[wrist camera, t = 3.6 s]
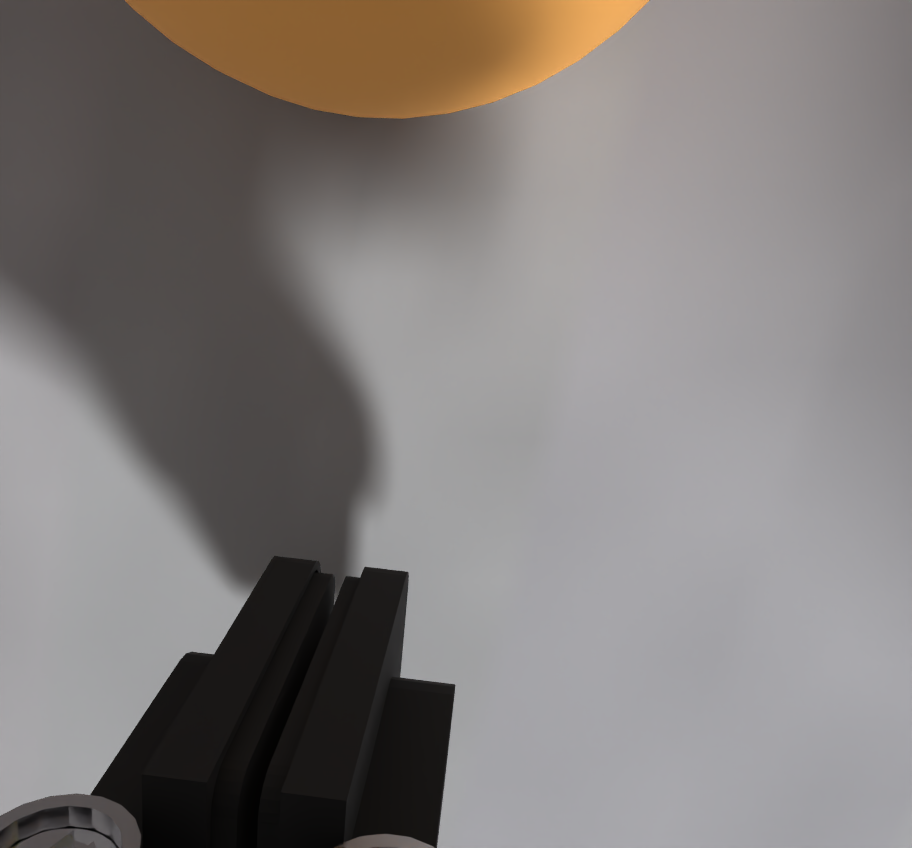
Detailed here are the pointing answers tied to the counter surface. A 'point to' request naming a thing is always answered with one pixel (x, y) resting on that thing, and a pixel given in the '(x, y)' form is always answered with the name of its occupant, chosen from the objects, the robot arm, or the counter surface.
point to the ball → (388, 47)
